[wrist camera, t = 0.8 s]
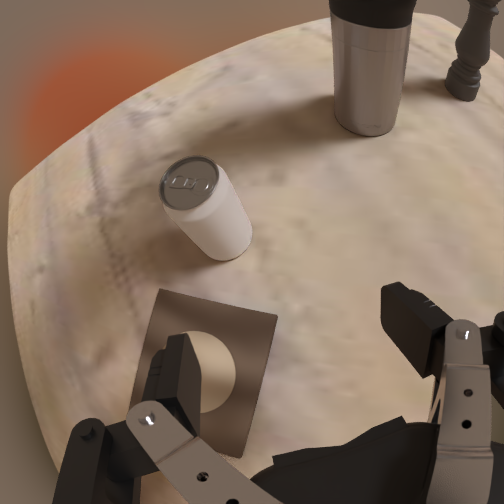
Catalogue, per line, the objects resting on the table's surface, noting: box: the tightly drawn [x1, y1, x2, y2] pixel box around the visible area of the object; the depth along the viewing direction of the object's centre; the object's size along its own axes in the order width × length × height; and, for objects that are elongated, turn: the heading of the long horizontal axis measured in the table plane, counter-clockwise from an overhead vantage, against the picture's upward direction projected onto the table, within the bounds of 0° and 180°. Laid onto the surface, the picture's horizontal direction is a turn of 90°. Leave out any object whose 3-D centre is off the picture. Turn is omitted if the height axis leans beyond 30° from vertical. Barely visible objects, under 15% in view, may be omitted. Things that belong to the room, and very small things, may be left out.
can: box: [159, 155, 252, 261], centre depth 31 cm, size 6×6×12 cm
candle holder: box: [445, 0, 501, 101], centre depth 26 cm, size 6×6×25 cm
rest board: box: [128, 288, 278, 459], centre depth 30 cm, size 16×14×1 cm
